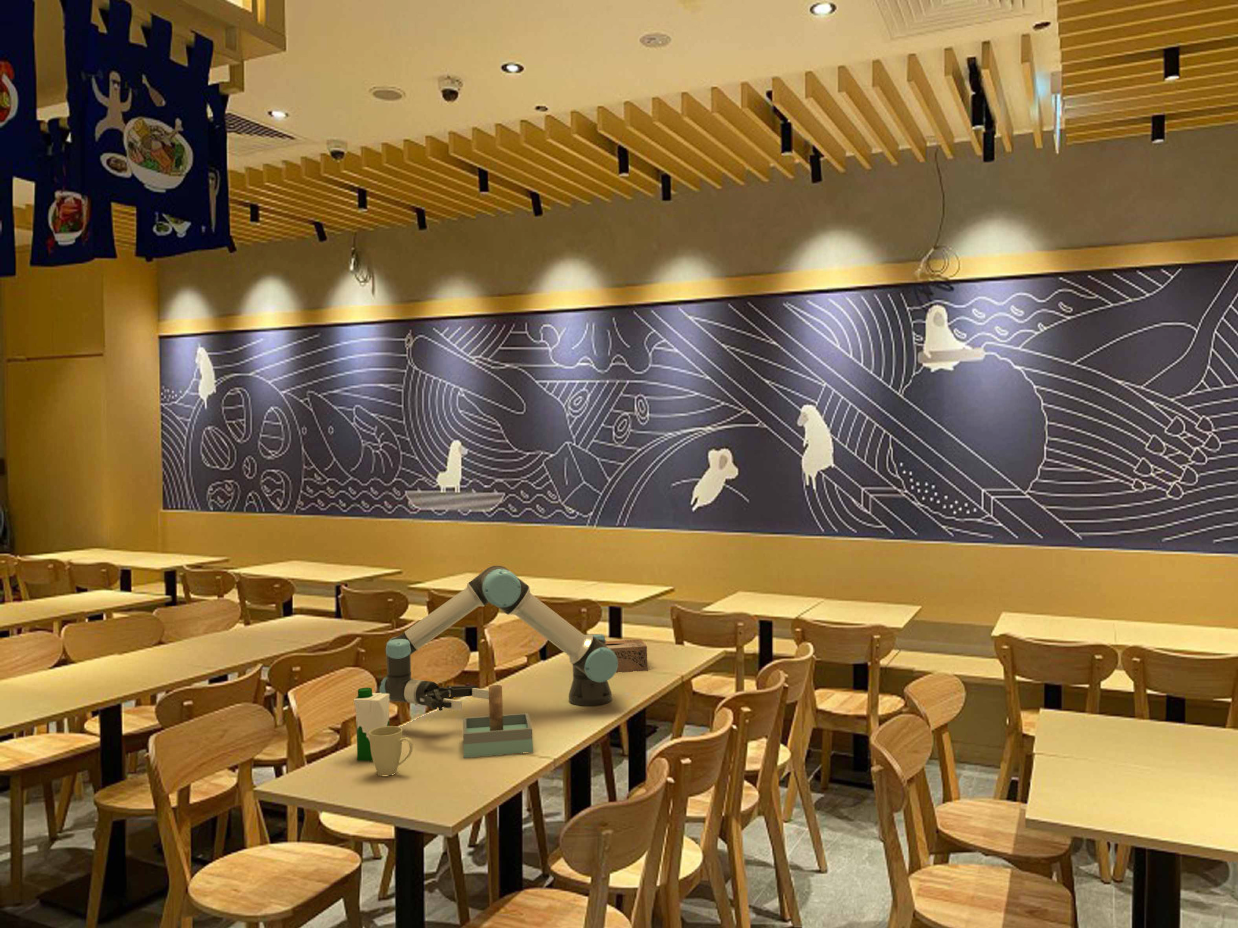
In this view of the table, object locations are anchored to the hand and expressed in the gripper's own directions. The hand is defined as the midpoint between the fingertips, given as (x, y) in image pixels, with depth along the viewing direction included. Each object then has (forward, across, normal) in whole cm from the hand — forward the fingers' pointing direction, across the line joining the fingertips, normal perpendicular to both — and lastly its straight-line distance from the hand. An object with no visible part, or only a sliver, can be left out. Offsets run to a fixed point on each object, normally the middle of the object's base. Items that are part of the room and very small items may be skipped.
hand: (475, 699), depth 291 cm
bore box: (+8, 0, -13) cm, 15 cm away
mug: (-4, +32, -13) cm, 35 cm away
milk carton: (-19, +24, -13) cm, 33 cm away
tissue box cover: (-12, -100, -14) cm, 101 cm away
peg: (+8, 0, -13) cm, 15 cm away
